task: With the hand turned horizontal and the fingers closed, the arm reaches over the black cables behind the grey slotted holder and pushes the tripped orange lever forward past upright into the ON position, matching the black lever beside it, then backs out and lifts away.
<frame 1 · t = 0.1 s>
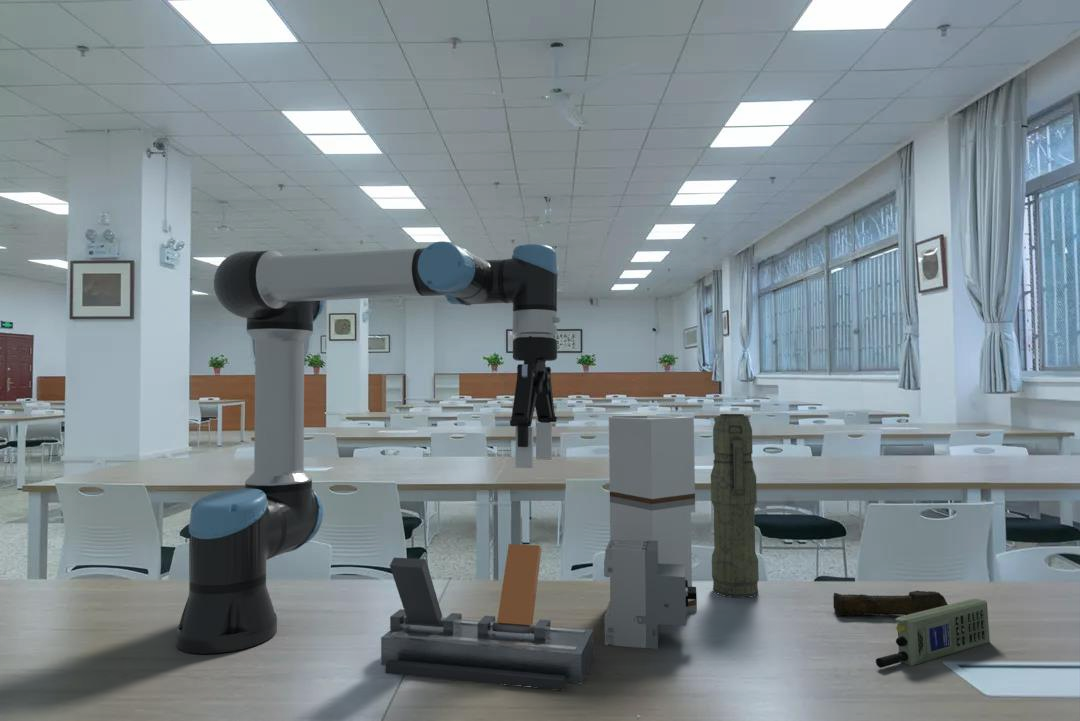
hand: (534, 463, 117), 28 cm above the table, tool pointing down, fingers open, 13 cm apart
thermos: (735, 592, 138), on the table
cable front: (473, 679, 97), on the table
white banded pillar: (653, 609, 128), on the table
grey slotted holder: (488, 660, 104), on the table
cable back: (506, 638, 113), on the table
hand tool: (889, 617, 123), on the table
lever: (519, 588, 107), point 10 cm above the table, hinge at -32.0°
handheld radio: (933, 657, 105), on the table
lever on: (417, 594, 104), point 10 cm above the table, hinge at 32.0°
circuit breaker: (651, 640, 112), on the table
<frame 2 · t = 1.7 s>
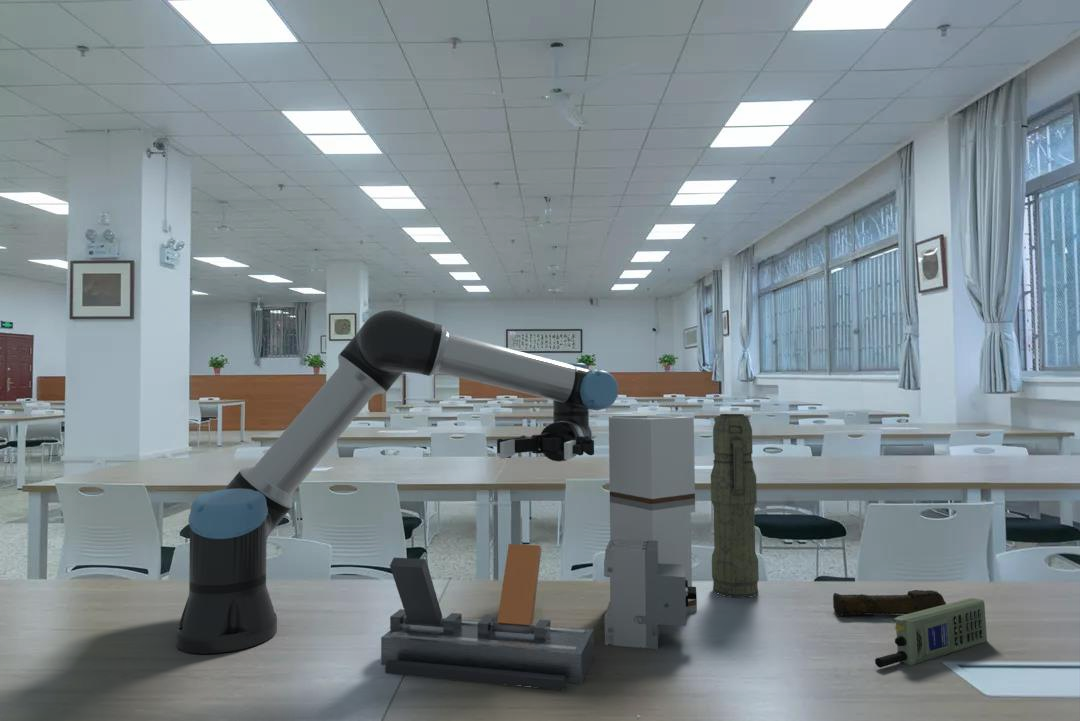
hand: (533, 450, 117), 30 cm above the table, tool horizontal, fingers open, 10 cm apart
nothing on the table moved.
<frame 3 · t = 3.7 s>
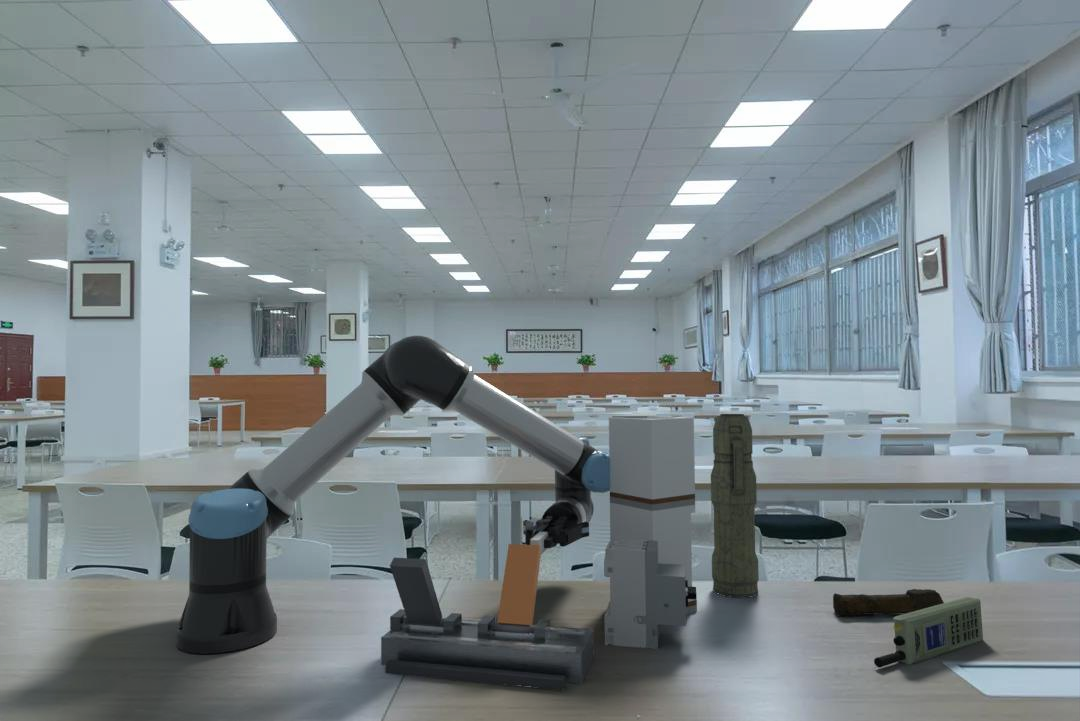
hand: (534, 548, 115), 14 cm above the table, tool horizontal, fingers closed
white banded pillar: (653, 609, 128), on the table, touching arm
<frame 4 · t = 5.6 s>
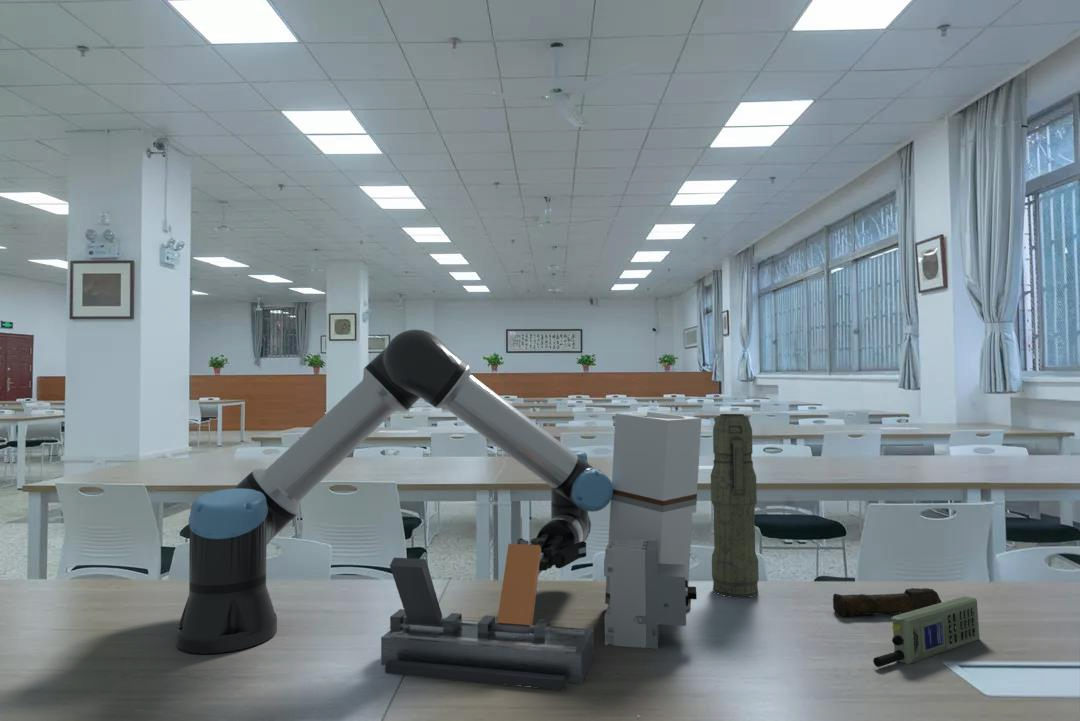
hand: (529, 570, 110), 12 cm above the table, tool horizontal, fingers closed
white banded pillar: (647, 607, 128), on the table, touching arm
lever: (519, 588, 107), point 10 cm above the table, hinge at -31.4°, touching gripper
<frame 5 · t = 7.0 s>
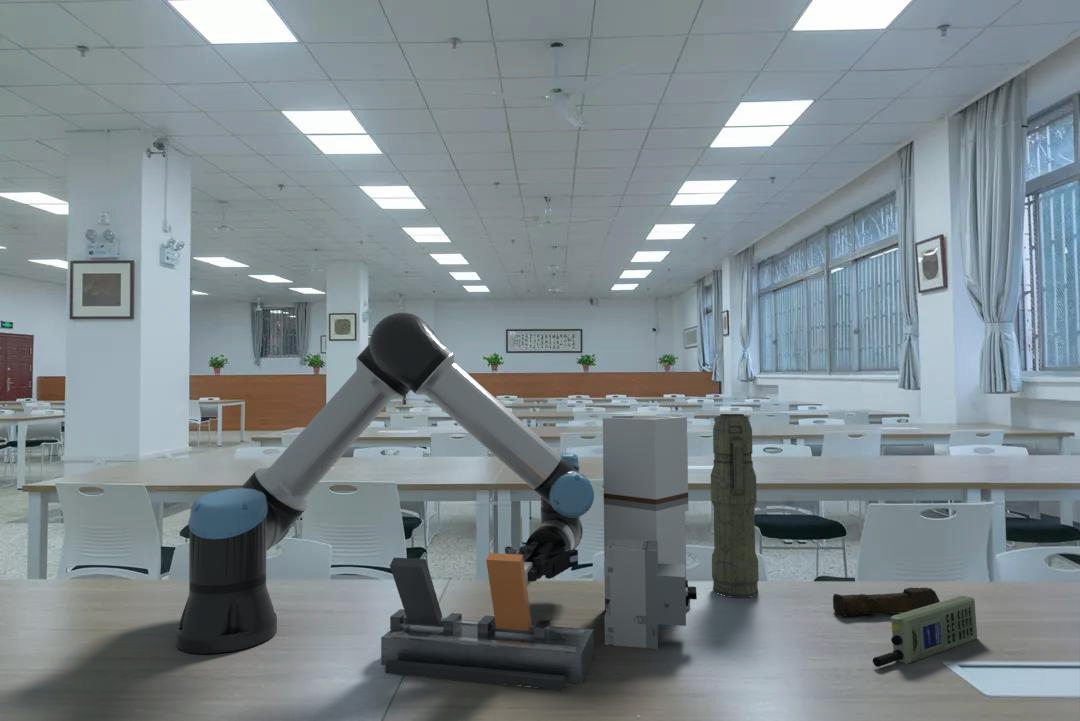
hand: (517, 582, 102), 12 cm above the table, tool horizontal, fingers closed
white banded pillar: (647, 610, 128), on the table
lever: (509, 595, 101), point 11 cm above the table, hinge at 22.2°, touching gripper
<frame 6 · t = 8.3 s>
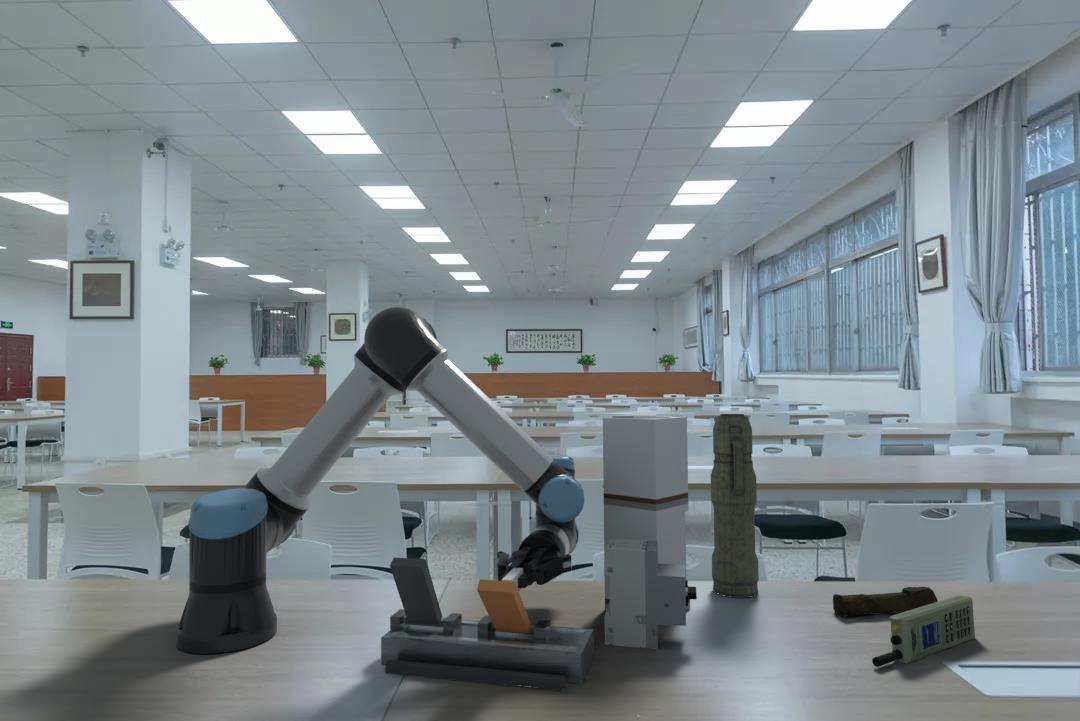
hand: (506, 589, 99), 12 cm above the table, tool horizontal, fingers closed
lever: (505, 609, 99), point 9 cm above the table, hinge at 45.7°, touching gripper
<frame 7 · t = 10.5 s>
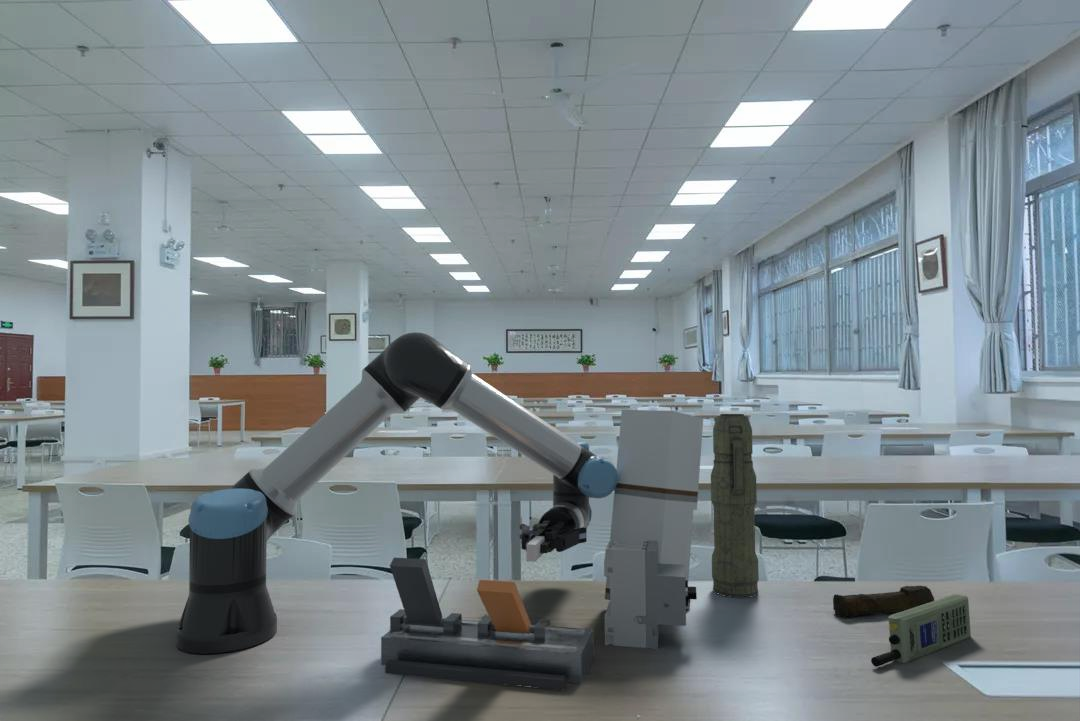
hand: (530, 552, 113), 14 cm above the table, tool horizontal, fingers closed
lever: (505, 609, 99), point 9 cm above the table, hinge at 46.0°
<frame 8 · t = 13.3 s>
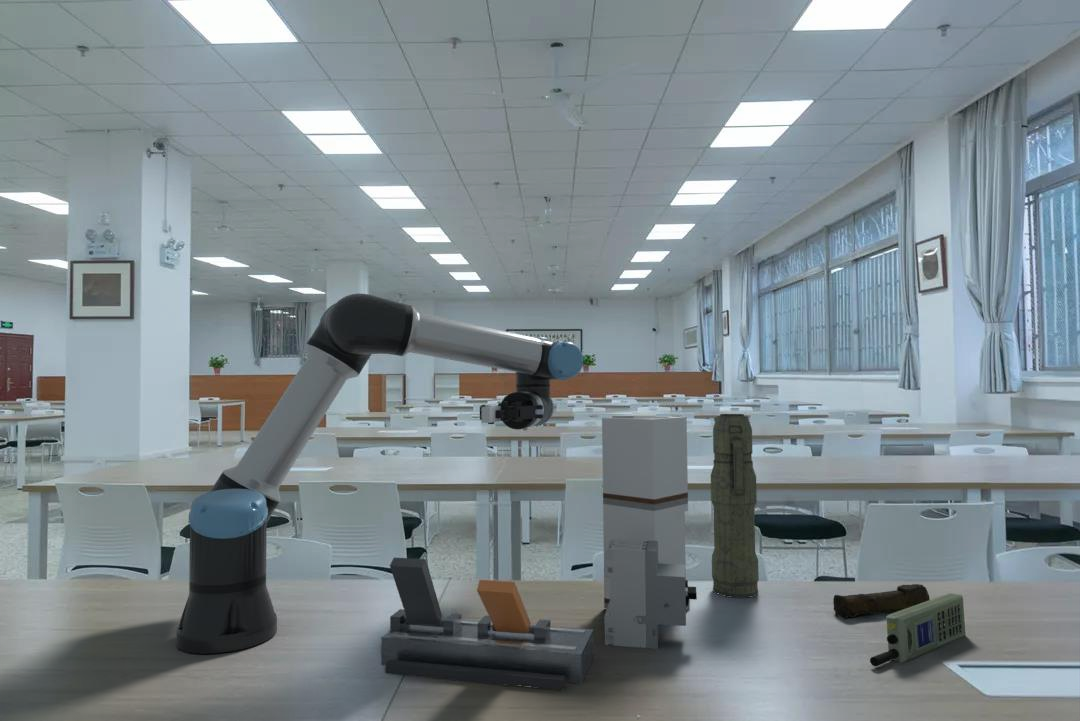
hand: (485, 414, 121), 36 cm above the table, tool horizontal, fingers closed
at the end: lever at +46° (first picture: -32°) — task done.
